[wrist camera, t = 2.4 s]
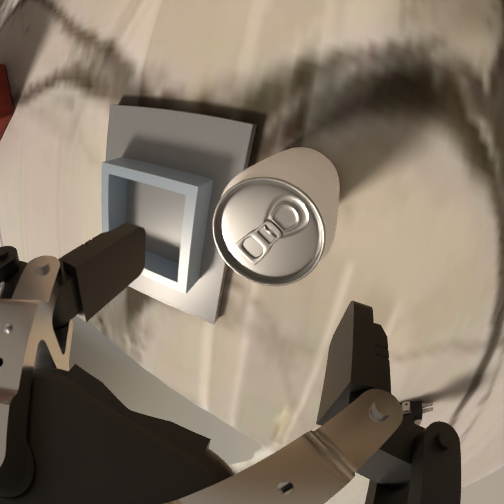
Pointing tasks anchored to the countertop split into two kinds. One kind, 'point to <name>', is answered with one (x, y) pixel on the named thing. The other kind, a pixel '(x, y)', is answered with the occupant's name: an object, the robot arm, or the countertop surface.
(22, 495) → the robot arm
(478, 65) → the countertop surface
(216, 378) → the countertop surface
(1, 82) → the plant pot
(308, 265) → the can
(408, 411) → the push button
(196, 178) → the housing
